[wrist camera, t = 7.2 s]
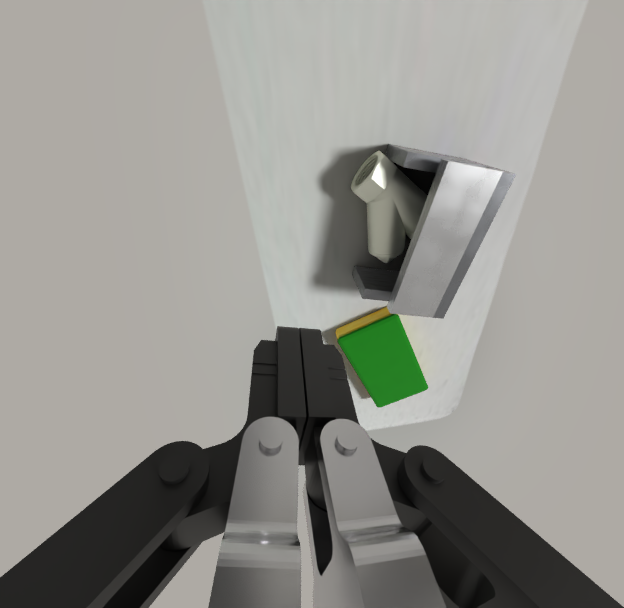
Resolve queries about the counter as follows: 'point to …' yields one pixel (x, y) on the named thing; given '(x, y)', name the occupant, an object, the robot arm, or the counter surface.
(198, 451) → the robot arm
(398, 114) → the counter surface
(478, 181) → the bracket
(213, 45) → the counter surface
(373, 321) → the dish sponge
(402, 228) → the pipe fitting
